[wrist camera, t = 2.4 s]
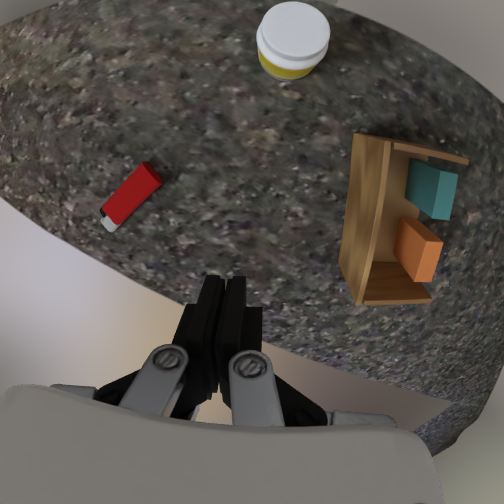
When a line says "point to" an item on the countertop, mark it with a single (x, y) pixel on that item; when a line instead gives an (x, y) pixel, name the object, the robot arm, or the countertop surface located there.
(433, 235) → the block
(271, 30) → the supplement bottle
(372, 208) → the wooden crate
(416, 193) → the block
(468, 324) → the countertop surface
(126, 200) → the lighter
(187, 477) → the robot arm
